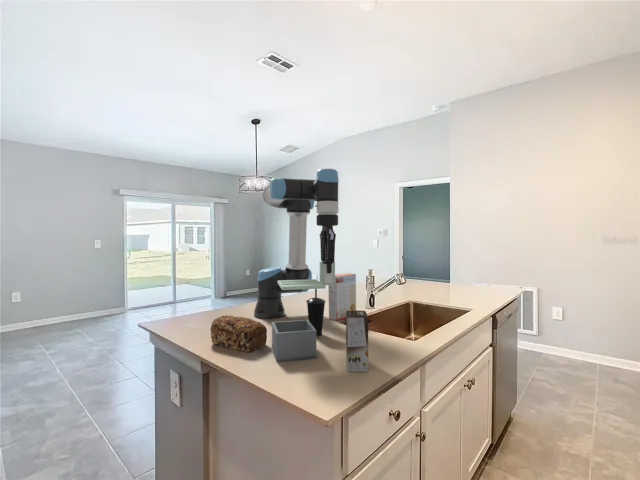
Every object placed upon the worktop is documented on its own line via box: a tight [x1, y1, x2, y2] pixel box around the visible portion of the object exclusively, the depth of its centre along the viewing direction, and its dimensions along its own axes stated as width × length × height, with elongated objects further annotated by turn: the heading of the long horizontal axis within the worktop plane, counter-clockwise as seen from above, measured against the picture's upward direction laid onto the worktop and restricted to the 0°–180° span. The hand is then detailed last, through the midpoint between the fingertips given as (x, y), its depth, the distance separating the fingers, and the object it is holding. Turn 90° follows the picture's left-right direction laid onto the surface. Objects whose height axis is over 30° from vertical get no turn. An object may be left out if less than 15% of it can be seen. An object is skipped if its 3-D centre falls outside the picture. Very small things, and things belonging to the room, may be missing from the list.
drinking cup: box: [306, 289, 327, 338], centre depth 131 cm, size 8×8×20 cm
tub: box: [271, 319, 317, 363], centre depth 111 cm, size 14×13×9 cm
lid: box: [278, 261, 336, 290], centre depth 112 cm, size 15×19×8 cm
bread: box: [210, 314, 268, 353], centre depth 119 cm, size 19×11×10 cm, turn 60°
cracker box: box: [327, 272, 357, 321], centre depth 158 cm, size 14×6×21 cm, turn 133°
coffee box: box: [345, 309, 369, 373], centre depth 100 cm, size 9×6×16 cm
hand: (327, 281), depth 114 cm, fingers closed on lid, 2 cm apart
